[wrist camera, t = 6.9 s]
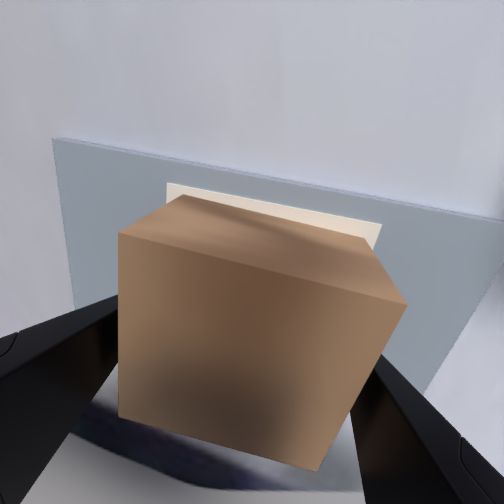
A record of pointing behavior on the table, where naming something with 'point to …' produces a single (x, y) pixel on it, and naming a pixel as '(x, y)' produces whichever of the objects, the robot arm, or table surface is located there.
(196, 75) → the table surface
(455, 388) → the table surface
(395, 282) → the board
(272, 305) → the block
